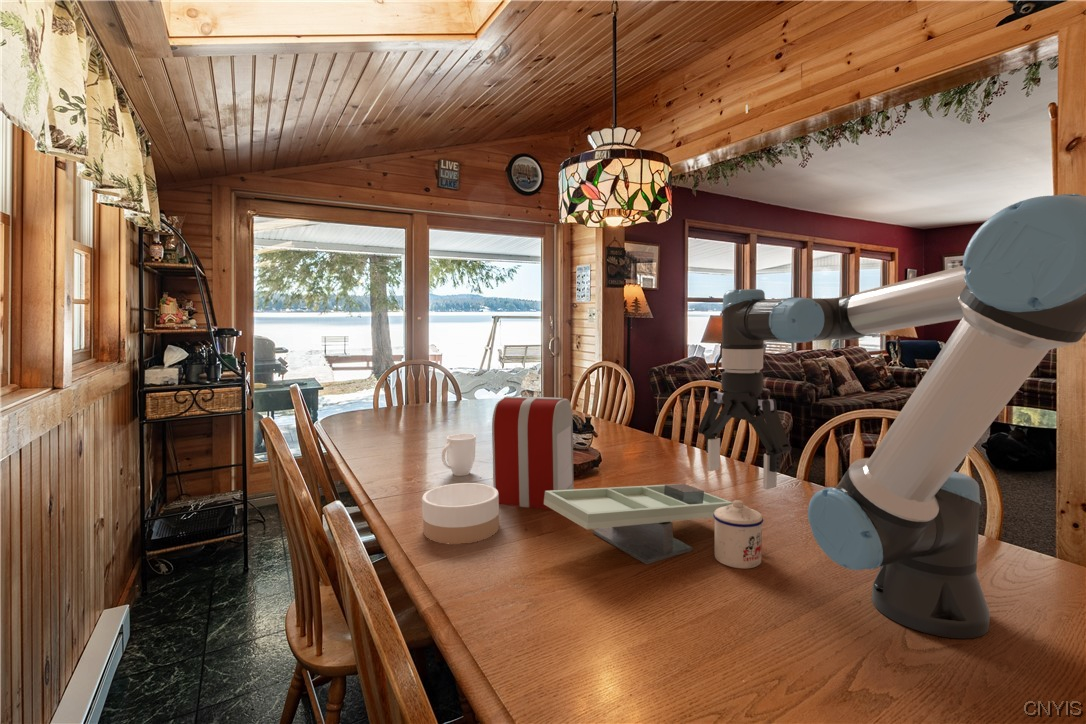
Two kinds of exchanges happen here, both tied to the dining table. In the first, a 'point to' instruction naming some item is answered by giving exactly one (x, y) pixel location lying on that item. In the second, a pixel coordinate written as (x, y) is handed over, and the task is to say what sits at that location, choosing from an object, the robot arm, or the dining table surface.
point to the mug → (460, 453)
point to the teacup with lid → (738, 535)
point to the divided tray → (627, 506)
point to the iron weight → (684, 493)
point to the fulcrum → (645, 541)
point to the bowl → (460, 513)
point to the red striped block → (531, 449)
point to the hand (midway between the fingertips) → (740, 478)
